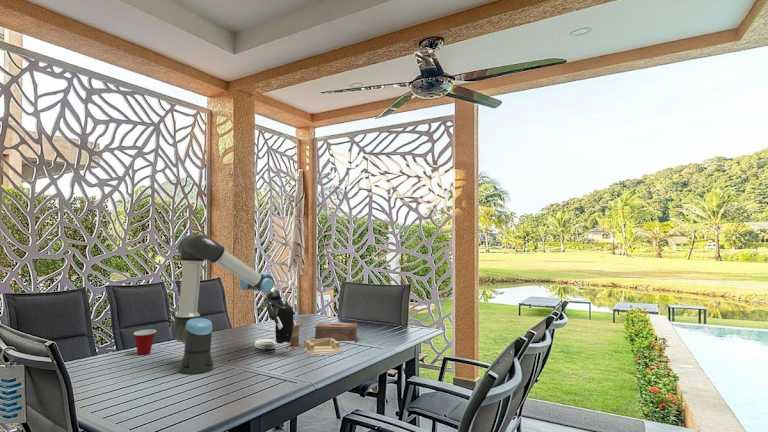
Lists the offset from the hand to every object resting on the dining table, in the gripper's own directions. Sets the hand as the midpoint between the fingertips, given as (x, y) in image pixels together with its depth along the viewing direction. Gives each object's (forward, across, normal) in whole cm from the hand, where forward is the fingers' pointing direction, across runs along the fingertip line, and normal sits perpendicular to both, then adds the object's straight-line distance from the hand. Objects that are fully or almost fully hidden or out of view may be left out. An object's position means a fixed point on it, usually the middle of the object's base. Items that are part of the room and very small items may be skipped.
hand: (288, 327), depth 227 cm
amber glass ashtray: (+15, -22, -7) cm, 27 cm away
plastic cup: (-29, +50, -54) cm, 79 cm away
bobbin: (+2, -16, -20) cm, 26 cm away
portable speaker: (+4, 0, -9) cm, 10 cm away
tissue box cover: (+3, -50, -19) cm, 53 cm away
